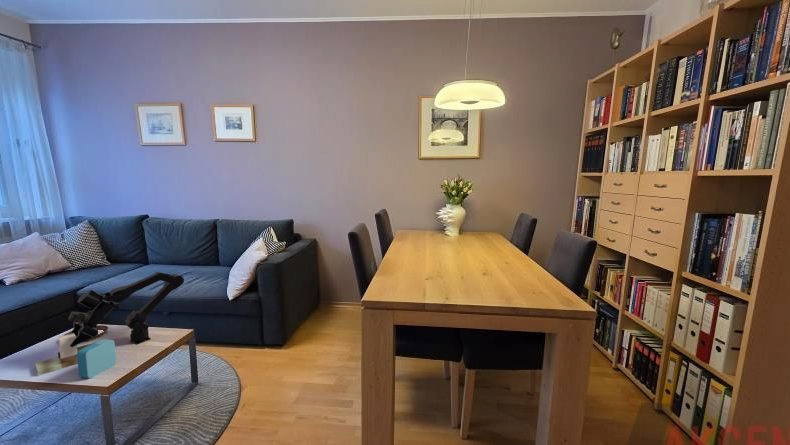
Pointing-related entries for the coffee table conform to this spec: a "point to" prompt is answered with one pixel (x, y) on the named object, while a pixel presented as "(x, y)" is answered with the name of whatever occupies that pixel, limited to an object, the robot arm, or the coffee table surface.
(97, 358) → the data package
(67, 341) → the cream block
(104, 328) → the plant saucer
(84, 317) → the robot arm
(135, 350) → the coffee table surface
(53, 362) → the walnut channel
